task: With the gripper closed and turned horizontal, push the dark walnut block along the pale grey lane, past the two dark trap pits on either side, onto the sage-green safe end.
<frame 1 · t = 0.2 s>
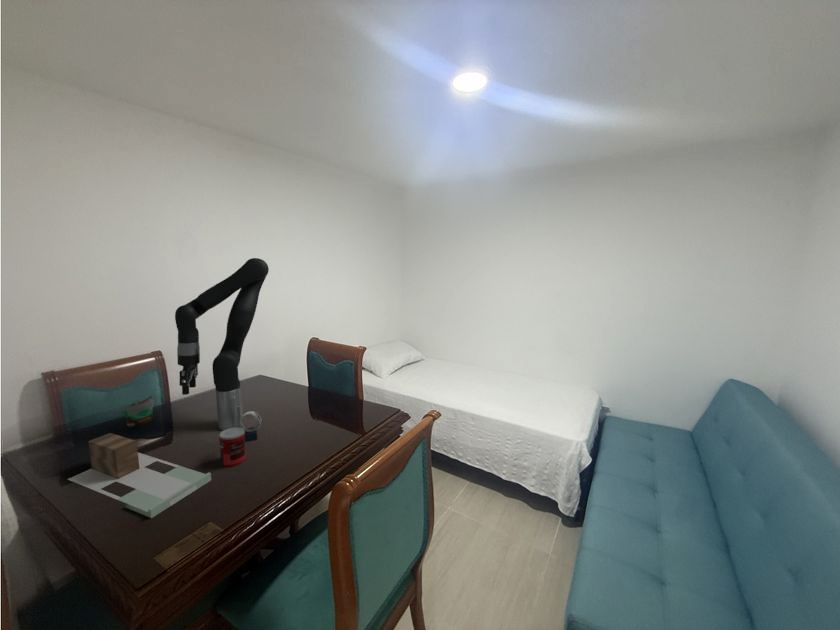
hand: (189, 390, 138), 18 cm above the table, tool pointing down, fingers open, 8 cm apart
food container: (144, 423, 147), on the table
watch: (251, 438, 136), on the table
canned food: (233, 461, 120), on the table
trap lane: (140, 481, 107), on the table
walnut block: (115, 468, 111), point 1 cm above the table, touching trap lane
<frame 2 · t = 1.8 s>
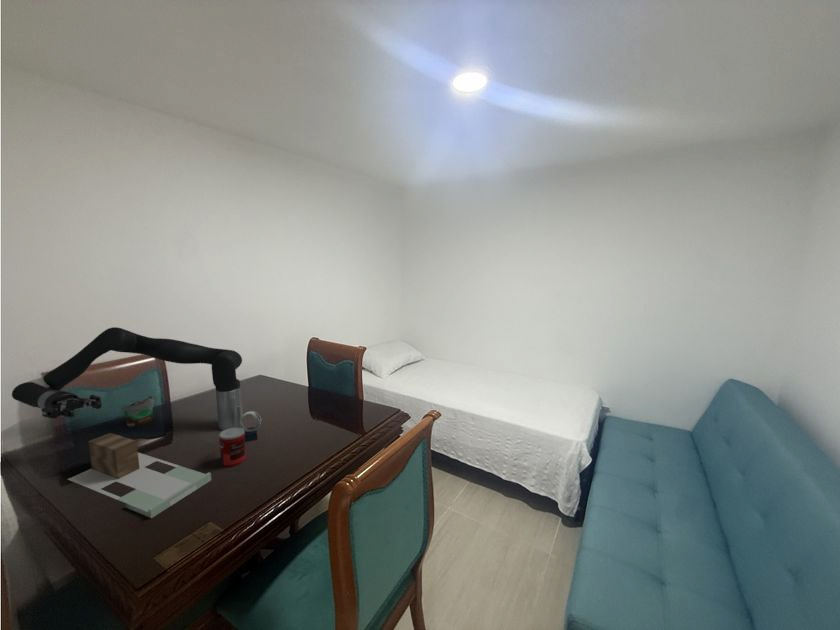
hand: (86, 409, 113), 20 cm above the table, tool horizontal, fingers open, 6 cm apart
nothing on the table moved.
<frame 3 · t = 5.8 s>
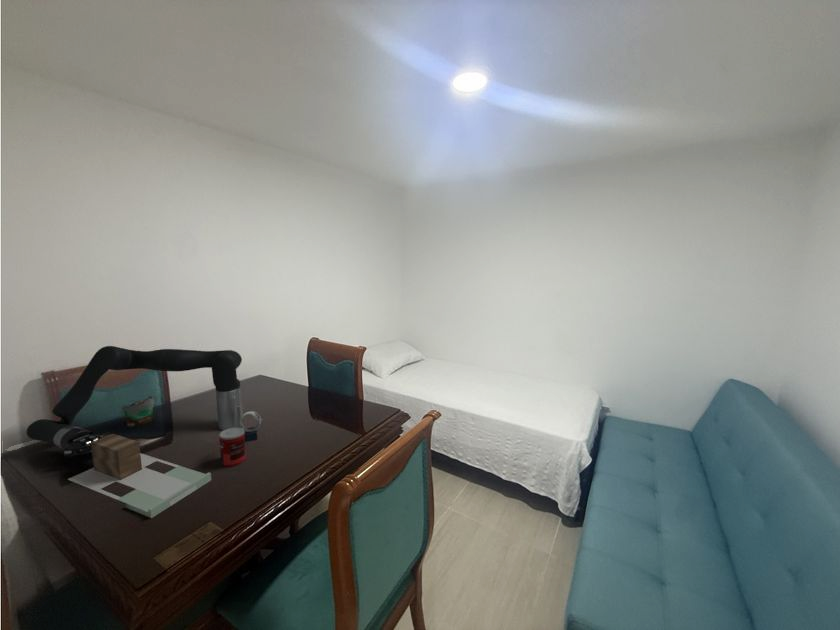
hand: (103, 448, 112), 8 cm above the table, tool horizontal, fingers closed
walnut block: (118, 469, 111), point 2 cm above the table, touching gripper, trap lane
everything else where it was.
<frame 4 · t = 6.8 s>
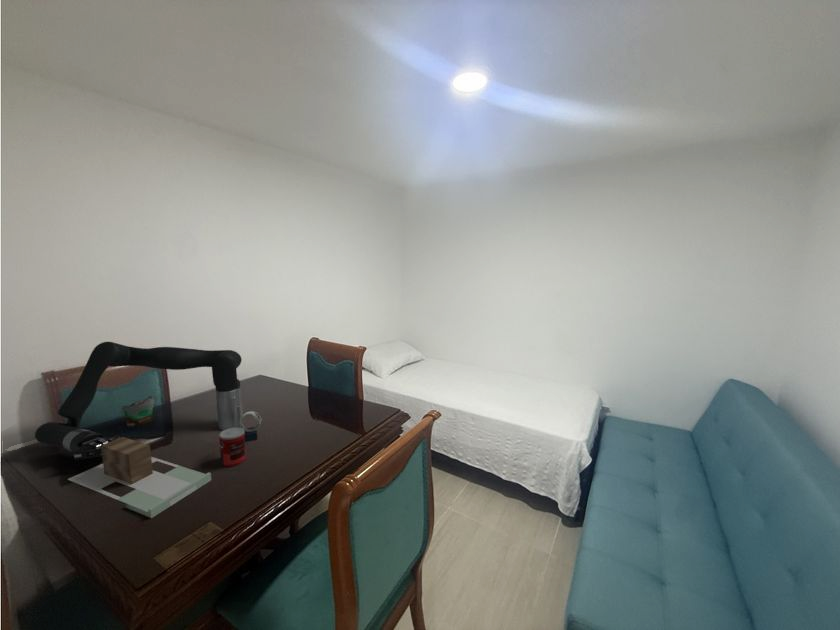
hand: (113, 451, 111), 8 cm above the table, tool horizontal, fingers closed
walnut block: (128, 473, 109), point 2 cm above the table, touching gripper, trap lane
everything else where it was.
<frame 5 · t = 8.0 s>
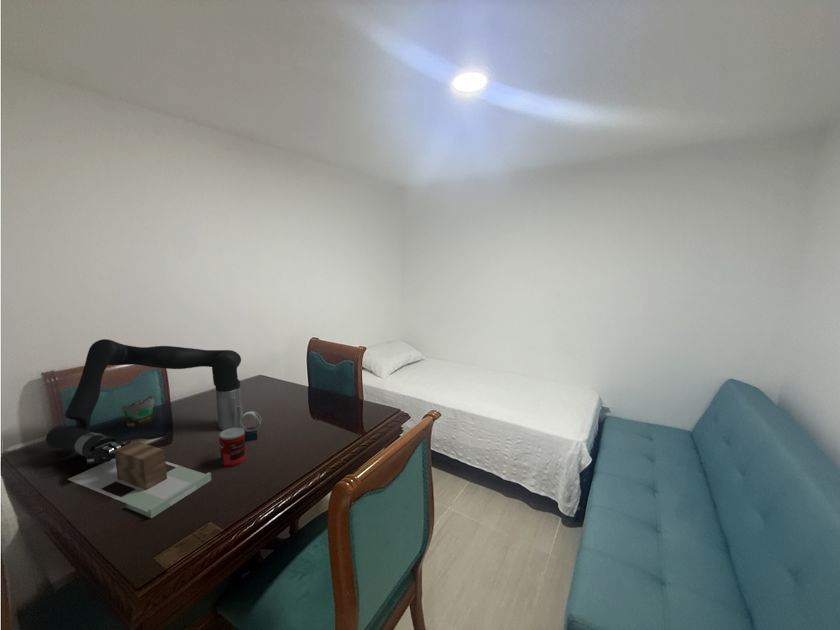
hand: (127, 456, 108), 8 cm above the table, tool horizontal, fingers closed
walnut block: (142, 478, 107), point 1 cm above the table, touching gripper, trap lane
everything else where it was.
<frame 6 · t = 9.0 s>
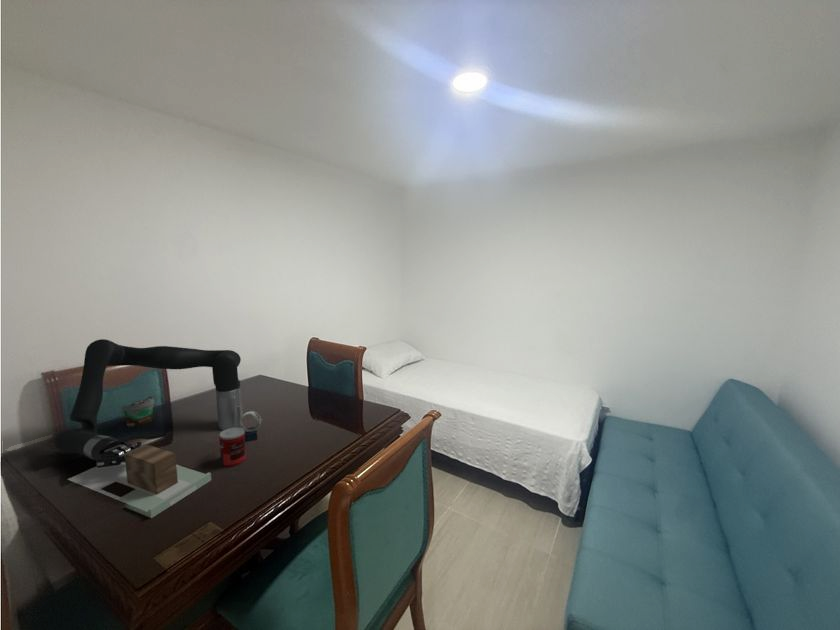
hand: (137, 459, 106), 8 cm above the table, tool horizontal, fingers closed
walnut block: (152, 482, 105), point 1 cm above the table, touching gripper, trap lane
everything else where it was.
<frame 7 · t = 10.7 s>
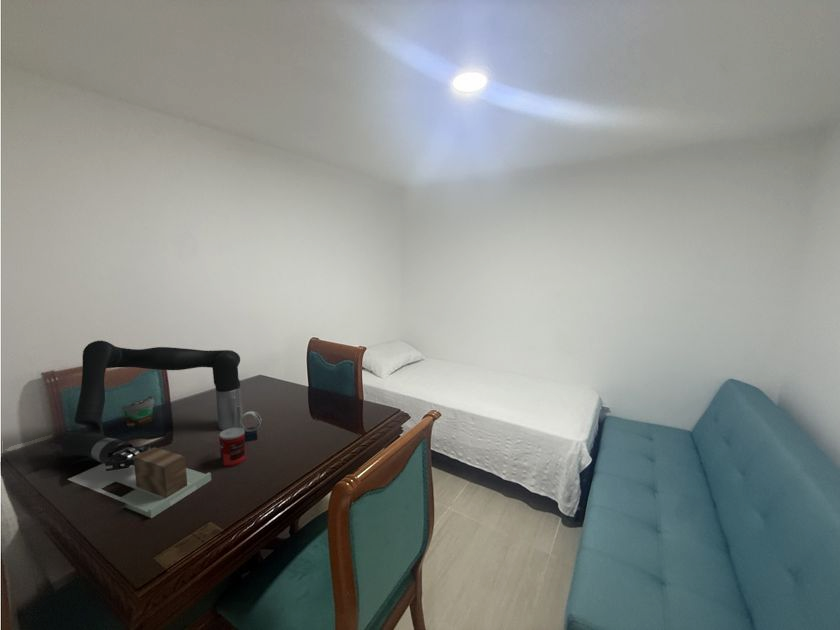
hand: (146, 462, 105), 8 cm above the table, tool horizontal, fingers closed
walnut block: (162, 486, 103), point 1 cm above the table, touching gripper, trap lane
everything else where it was.
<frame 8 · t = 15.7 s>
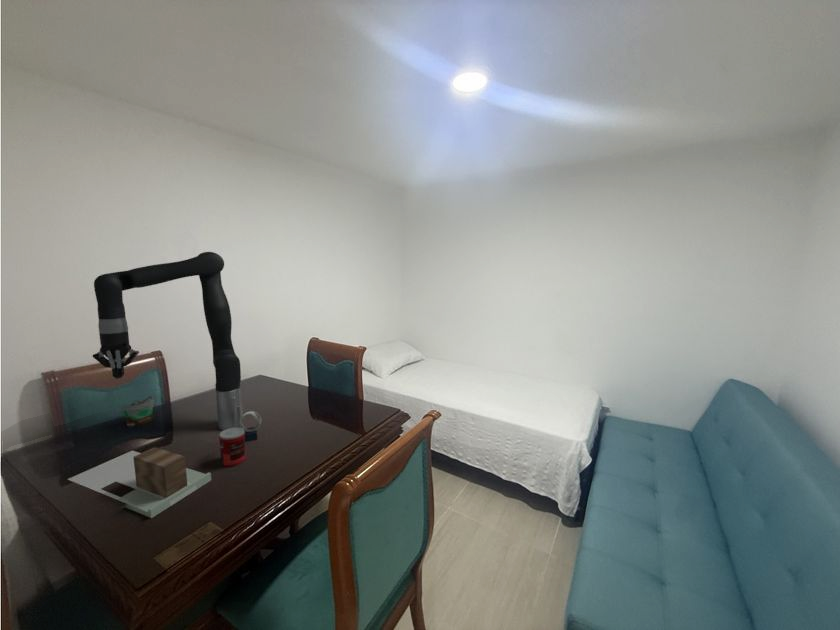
hand: (119, 377, 120), 29 cm above the table, tool pointing down, fingers closed
walnut block: (162, 486, 103), point 1 cm above the table, touching trap lane
everything else where it was.
at the end: walnut block inside the target area on the trap lane (1.1 cm from its centre), point 1.5 cm above the trap lane's base; walnut block tilted 0° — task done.
